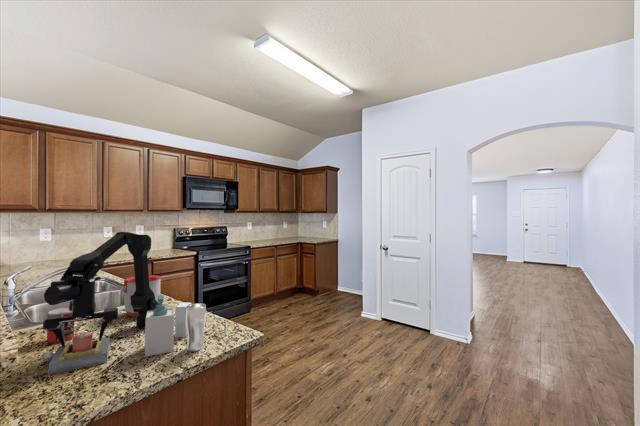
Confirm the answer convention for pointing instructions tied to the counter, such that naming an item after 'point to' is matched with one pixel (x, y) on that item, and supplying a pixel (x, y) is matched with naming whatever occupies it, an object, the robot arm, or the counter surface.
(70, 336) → the canned food
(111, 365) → the counter surface
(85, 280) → the robot arm
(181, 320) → the skincare box
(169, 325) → the soap bottle
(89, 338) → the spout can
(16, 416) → the counter surface
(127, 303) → the citrus juicer
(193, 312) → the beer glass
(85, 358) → the grey and gold frame
